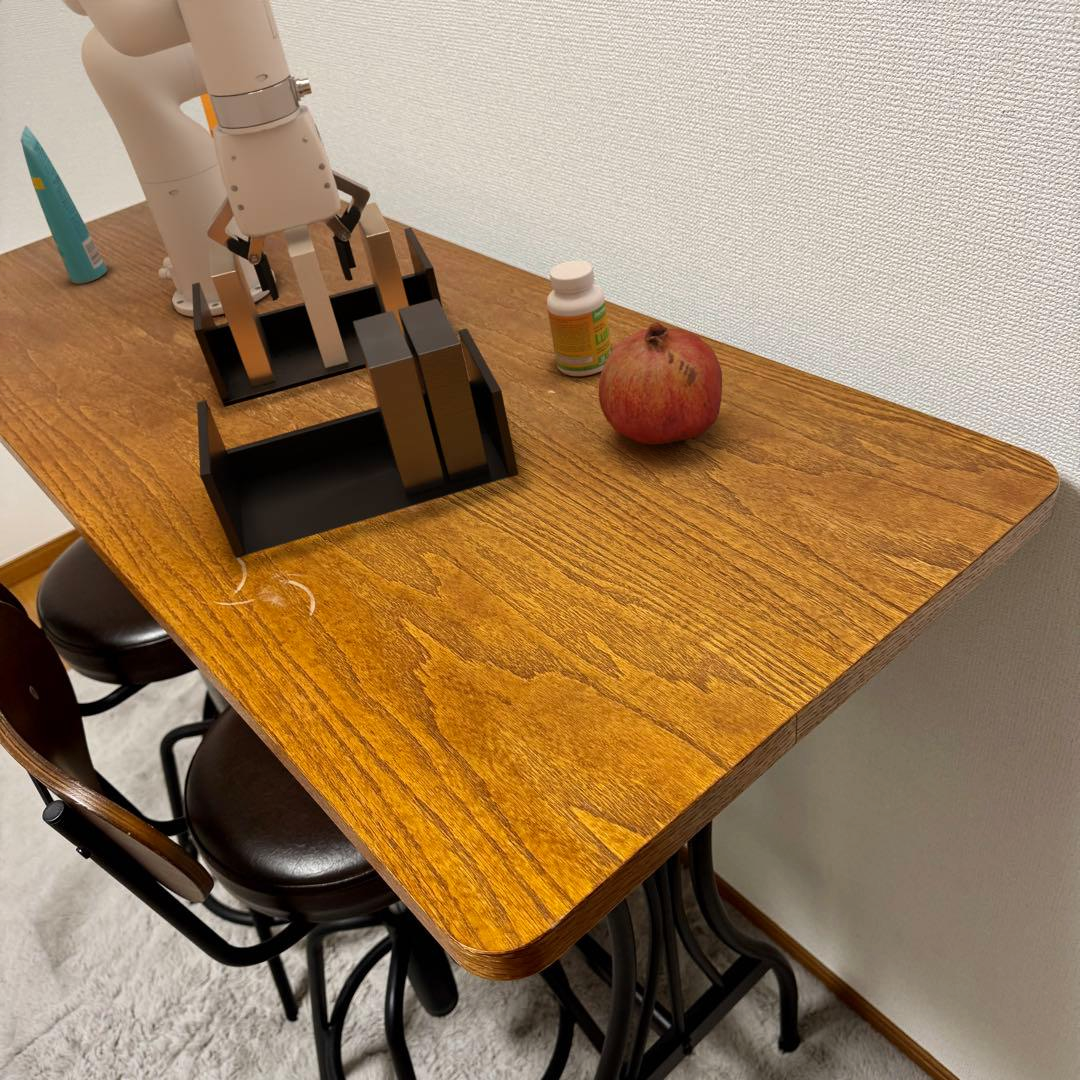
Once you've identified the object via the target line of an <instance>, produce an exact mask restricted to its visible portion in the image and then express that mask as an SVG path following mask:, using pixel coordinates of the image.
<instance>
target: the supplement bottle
mask: <svg viewBox="0 0 1080 1080" xmlns="http://www.w3.org/2000/svg"><path fill="white" fill-rule="evenodd" d="M549 281H550V286H551V288H552V290H551V291H550V292H549V294H548V296H547V298H546V308H547V314H548V320H549V326H550V327H549V328H550V332H551V333H550V334H551V339H552V344H553V345H552V346H553V351H554V358H555V362H556V363H555V364H556V367H557V369H558V370H559V371H560V372H561V373H562V374H564V375H567V376H570V377H586V376H591V375H594V374H598V373H600V372H602V369H603V367H604V365H605V363H606V361H607V359H608V357H609V354H610V352H611V351H612V345H611V336H610V329H609V322H608V312H607V305H606V298H605V293H604V290H603V289H602V288H601V286H599V285H598V284H596V283H595V273H594V267H593V265H592V264H591V263H590V262H588V261H585V260H569V261H565V262H561V263H559V264H556V265H555V266H552V268H551V269H550V270H549Z"/></svg>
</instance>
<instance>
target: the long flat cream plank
mask: <svg viewBox="0 0 1080 1080" xmlns="http://www.w3.org/2000/svg"><path fill="white" fill-rule="evenodd" d="M282 232H283V235H284V240H285V243H286V247H287V250H288V254H289V258H290V261H291V264H292V268H293V271H294V274H295V277H296V280H297V284H298V287H299V290H300V293H301V296H302V299H303V303H305V306H306V309H307V312H308V315H309V318H310V321H311V325H312V328H313V331H314V334H315V337H316V340H317V343H318V346H319V350H320V353H321V356H322V359H323V362H324V365H325V368H328V367H331V366H335V365H339V364H342V363H346V362H348V359H347V356H346V352H345V349H344V346H343V343H342V339H341V336H340V333H339V329H338V326H337V323H336V319H335V316H334V313H333V309H332V306H331V303H330V299H329V296H330V295H329V294H328V290H327V286H326V283H325V279H324V277H323V274H322V270H321V267H320V264H319V261H318V256H317V253H316V250H315V247H314V243H313V241H312V238H311V235H310V231H309V228H308V225H305V226H301V227H297V228H293V229H289V230H285V231H282Z"/></svg>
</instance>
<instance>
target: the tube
mask: <svg viewBox="0 0 1080 1080" xmlns="http://www.w3.org/2000/svg"><path fill="white" fill-rule="evenodd" d="M19 141H20V143H21V146H22V147H21V148H22V152H23V155H24V159H25V163H26V166H27V169H28V172H29V176H30V179H31V182H32V186H33V189H34V191H35V194H36V196H37V200H38V202H39V205H40V208H41V210H42V213H43V215H44V218H45V221H46V223H47V226H48V228H49V232H50V233H51V237H52V238H53V241H54V244H55V246H56V248H57V251H58V253H59V255H60V256H59V257H60V258H61V261H62V263H63V266H64V269H65V270H66V273H67V274H68V277H69V280H70V281H71V282H72V283H74V284H86V283H89V282H93V281H95V280H97V279H99V278H101V277H102V276H104V275H105V274H106V273H107V272H108V268H107V266H106V264H105V261H104V260H103V258H102V255H101V254H100V252H99V250H98V247H97V246H96V243H95V242H94V240H93V238H92V236H91V234H90V232H89V230H88V228H87V225H86V224H85V222H84V220H83V218H82V216H81V214H80V212H79V210H78V209H77V206H76V204H75V203H74V201H73V199H72V197H71V195H70V193H69V191H68V190H67V188H66V186H65V184H64V182H63V181H62V179H61V177H60V175H59V173H58V171H57V169H56V168H55V166H54V165H53V163H52V161H51V159H50V158H49V156H48V154H47V153H46V151H45V149H44V148H43V146H42V145H41V143H40V142H39V140H38V139H37V137H36V135H34V132H32V131H31V129H30V128H29V127H28V126H27V125H24V127H23V129H22V133H21V135H20V139H19Z"/></svg>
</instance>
